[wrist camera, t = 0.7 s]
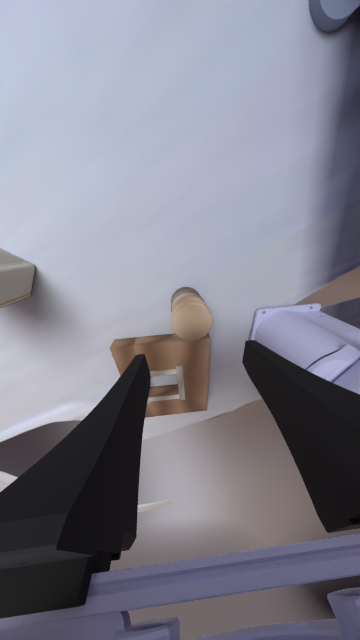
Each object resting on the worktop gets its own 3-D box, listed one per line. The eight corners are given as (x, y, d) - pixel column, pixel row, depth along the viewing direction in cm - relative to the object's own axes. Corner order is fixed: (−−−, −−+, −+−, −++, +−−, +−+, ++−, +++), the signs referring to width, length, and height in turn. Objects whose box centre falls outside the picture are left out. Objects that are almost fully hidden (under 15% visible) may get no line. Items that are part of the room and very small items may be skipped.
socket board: (206, 330, 22) (210, 339, 20) (204, 400, 30) (207, 411, 28) (114, 339, 21) (109, 349, 19) (139, 408, 30) (137, 419, 28)
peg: (200, 285, 18) (214, 302, 13) (200, 313, 20) (212, 338, 15) (169, 288, 18) (169, 306, 13) (172, 316, 20) (173, 342, 15)
